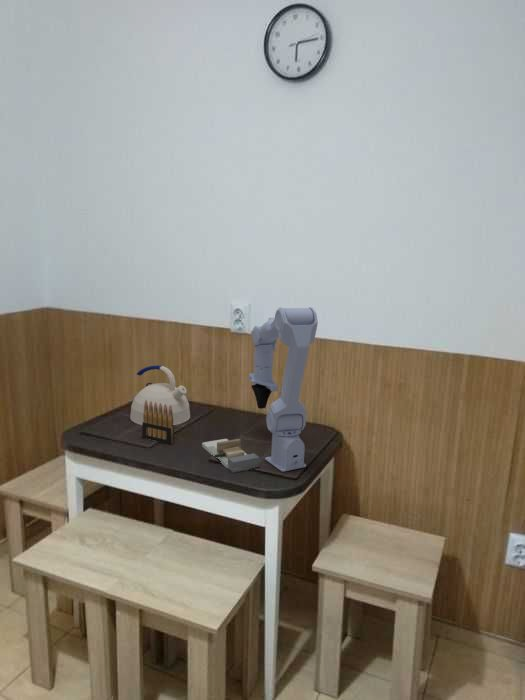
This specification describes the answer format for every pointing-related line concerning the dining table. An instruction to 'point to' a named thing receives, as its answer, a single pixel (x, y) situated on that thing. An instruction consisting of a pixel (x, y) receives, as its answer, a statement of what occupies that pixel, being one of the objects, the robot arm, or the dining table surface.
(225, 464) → the gauge base
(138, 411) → the kettle
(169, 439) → the ammunition clip
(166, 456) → the dining table surface
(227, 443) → the gauge carriage
